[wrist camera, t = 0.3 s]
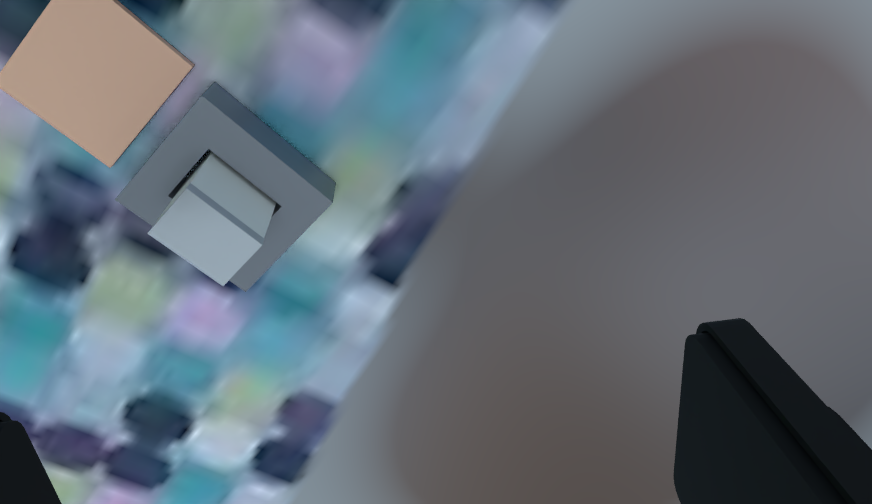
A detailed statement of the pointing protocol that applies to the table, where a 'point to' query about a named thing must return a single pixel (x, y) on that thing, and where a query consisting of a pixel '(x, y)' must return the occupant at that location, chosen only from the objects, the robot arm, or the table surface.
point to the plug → (215, 219)
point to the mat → (94, 73)
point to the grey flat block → (250, 156)
